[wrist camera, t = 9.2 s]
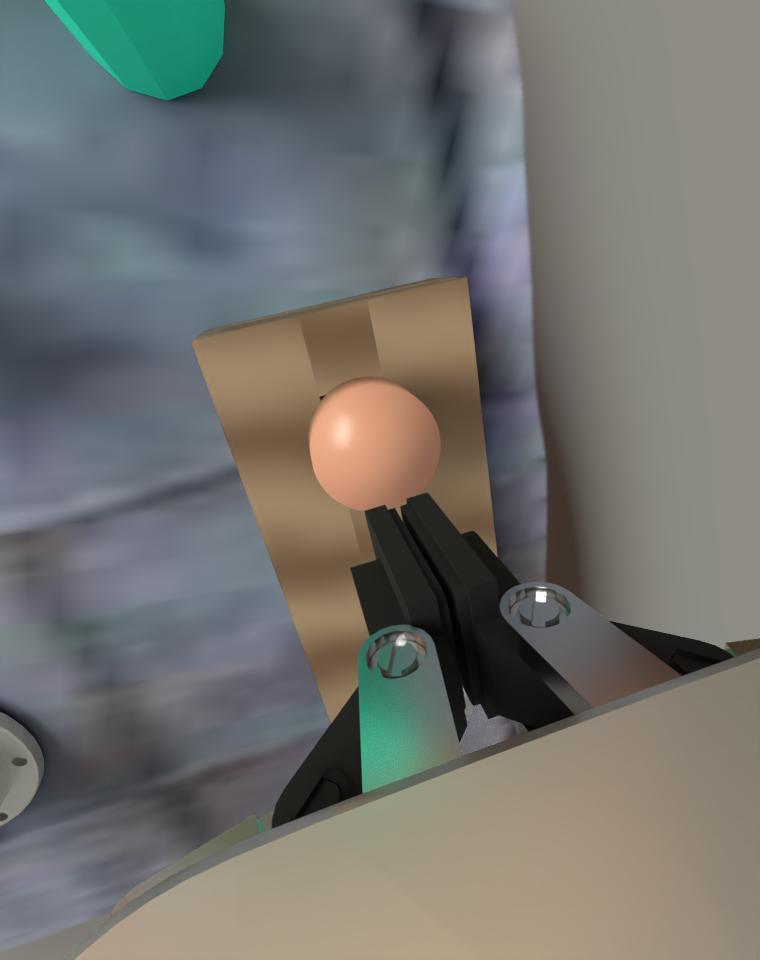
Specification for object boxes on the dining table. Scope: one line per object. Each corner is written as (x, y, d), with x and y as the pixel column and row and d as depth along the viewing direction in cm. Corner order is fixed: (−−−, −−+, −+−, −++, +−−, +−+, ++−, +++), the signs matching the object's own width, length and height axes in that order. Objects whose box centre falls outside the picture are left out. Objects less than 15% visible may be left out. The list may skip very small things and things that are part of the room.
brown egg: (405, 438, 25) (448, 492, 19) (316, 461, 25) (329, 525, 18) (388, 346, 23) (430, 371, 17) (290, 370, 23) (294, 405, 16)
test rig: (482, 638, 35) (512, 690, 31) (331, 685, 34) (339, 746, 30) (432, 278, 24) (467, 277, 20) (208, 329, 23) (190, 341, 19)
